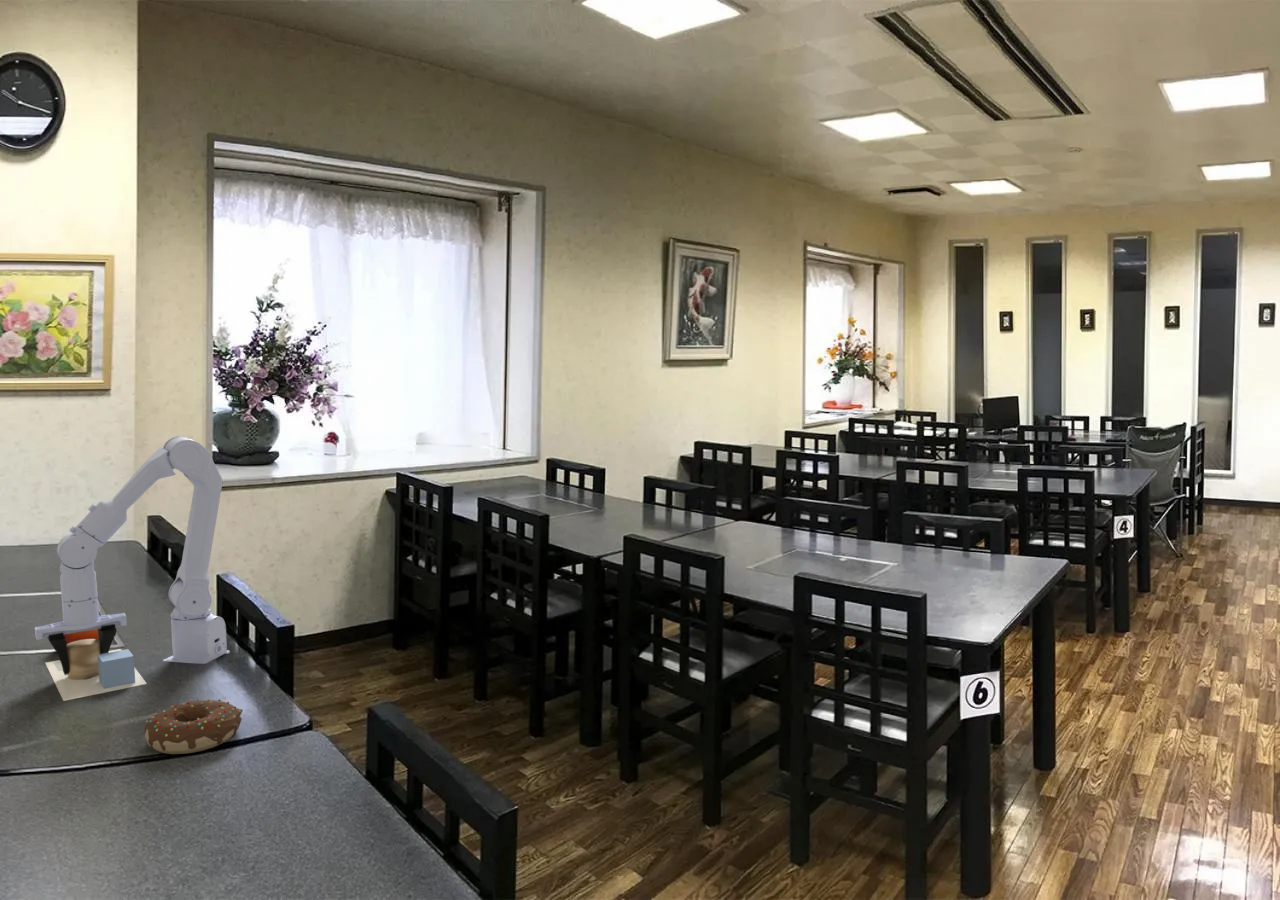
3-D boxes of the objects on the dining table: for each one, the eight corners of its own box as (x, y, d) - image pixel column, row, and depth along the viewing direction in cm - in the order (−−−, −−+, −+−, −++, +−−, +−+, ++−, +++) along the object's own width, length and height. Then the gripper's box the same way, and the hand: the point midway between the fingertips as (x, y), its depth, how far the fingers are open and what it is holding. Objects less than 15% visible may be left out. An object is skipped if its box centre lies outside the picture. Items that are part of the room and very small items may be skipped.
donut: (153, 768, 135) (151, 735, 135) (139, 736, 146) (137, 706, 146) (255, 744, 144) (253, 713, 143) (234, 715, 155) (233, 687, 154)
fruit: (38, 648, 184) (57, 610, 187) (74, 658, 191) (91, 621, 194) (62, 654, 181) (81, 615, 183) (97, 664, 187) (115, 626, 190)
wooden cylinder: (99, 667, 176) (97, 637, 175) (104, 675, 172) (102, 644, 171) (66, 673, 172) (63, 642, 172) (70, 681, 168) (68, 650, 168)
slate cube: (129, 674, 172) (128, 649, 171) (135, 682, 168) (133, 655, 167) (99, 681, 169) (97, 654, 168) (104, 688, 165) (102, 661, 164)
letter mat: (120, 651, 187) (120, 648, 187) (147, 686, 167) (146, 683, 167) (45, 665, 179) (45, 662, 179) (63, 704, 159) (63, 700, 159)
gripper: (119, 587, 178) (124, 655, 180) (30, 600, 169) (36, 671, 170) (127, 594, 173) (131, 664, 174) (35, 608, 163) (40, 682, 165)
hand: (84, 668), depth 172 cm, fingers closed on wooden cylinder, 5 cm apart
